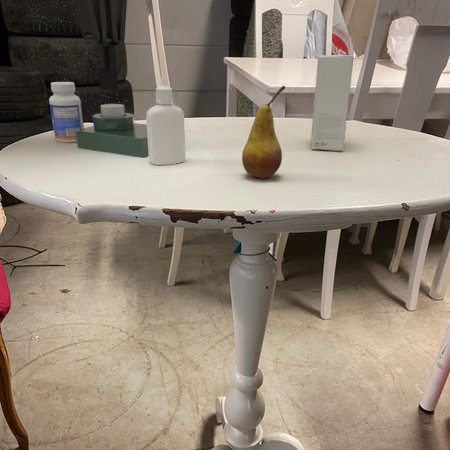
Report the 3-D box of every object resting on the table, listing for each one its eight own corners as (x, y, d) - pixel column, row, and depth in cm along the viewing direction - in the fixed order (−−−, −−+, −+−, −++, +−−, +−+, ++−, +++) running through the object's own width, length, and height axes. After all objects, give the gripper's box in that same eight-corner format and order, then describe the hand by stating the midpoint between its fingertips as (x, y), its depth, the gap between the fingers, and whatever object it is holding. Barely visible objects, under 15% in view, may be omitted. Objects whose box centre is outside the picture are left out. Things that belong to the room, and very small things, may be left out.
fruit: (266, 169, 70) (271, 81, 64) (287, 179, 66) (295, 86, 60) (233, 173, 68) (235, 83, 62) (253, 183, 64) (257, 87, 58)
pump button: (97, 118, 81) (95, 105, 80) (112, 115, 84) (110, 103, 83) (115, 120, 79) (113, 107, 78) (130, 117, 82) (128, 105, 81)
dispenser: (77, 148, 81) (73, 117, 79) (118, 137, 90) (115, 109, 87) (143, 157, 76) (140, 125, 73) (179, 145, 84) (178, 116, 82)
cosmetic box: (343, 152, 81) (356, 55, 74) (308, 150, 82) (317, 54, 75) (342, 142, 88) (354, 53, 81) (310, 140, 89) (319, 53, 82)
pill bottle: (62, 136, 90) (53, 80, 85) (89, 137, 89) (82, 81, 84) (50, 142, 85) (40, 83, 80) (79, 143, 85) (71, 84, 80)
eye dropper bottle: (150, 159, 75) (145, 76, 69) (185, 159, 75) (183, 76, 69) (148, 165, 71) (142, 79, 65) (185, 165, 72) (182, 79, 66)
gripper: (81, -101, 61) (100, 95, 73) (141, -81, 71) (150, 88, 83) (39, -96, 64) (64, 91, 76) (103, -78, 74) (116, 85, 86)
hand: (109, 89), depth 79 cm, fingers closed
